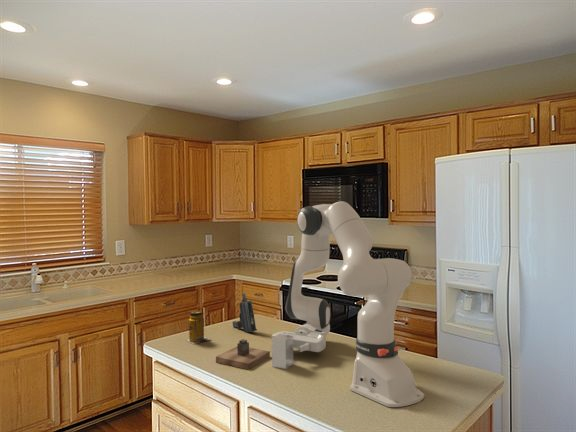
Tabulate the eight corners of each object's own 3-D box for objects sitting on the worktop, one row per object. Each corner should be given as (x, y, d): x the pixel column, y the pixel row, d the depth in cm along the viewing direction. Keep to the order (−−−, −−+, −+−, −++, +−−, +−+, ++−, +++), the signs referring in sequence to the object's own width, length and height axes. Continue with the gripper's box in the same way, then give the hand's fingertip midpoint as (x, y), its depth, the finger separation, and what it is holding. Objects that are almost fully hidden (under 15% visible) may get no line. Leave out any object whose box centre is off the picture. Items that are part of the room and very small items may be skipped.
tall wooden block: (293, 364, 146) (293, 336, 146) (285, 369, 142) (285, 340, 141) (280, 361, 149) (279, 333, 149) (272, 366, 144) (272, 337, 144)
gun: (232, 296, 196) (251, 292, 186) (238, 332, 193) (257, 330, 183) (227, 296, 195) (246, 293, 184) (233, 333, 192) (252, 331, 181)
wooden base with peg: (269, 356, 154) (269, 337, 154) (248, 369, 142) (248, 349, 142) (239, 350, 161) (238, 332, 161) (215, 362, 148) (215, 342, 148)
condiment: (185, 340, 174) (185, 311, 174) (204, 336, 179) (204, 308, 179) (192, 344, 168) (192, 315, 168) (211, 340, 174) (211, 311, 173)
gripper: (281, 325, 165) (263, 334, 153) (329, 332, 155) (312, 342, 143) (282, 341, 165) (263, 351, 153) (329, 349, 155) (313, 360, 143)
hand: (287, 347), depth 148 cm, fingers open, 8 cm apart
